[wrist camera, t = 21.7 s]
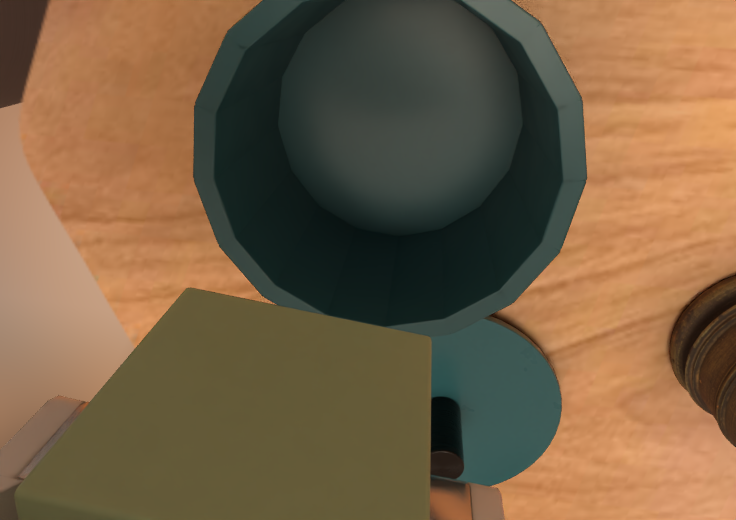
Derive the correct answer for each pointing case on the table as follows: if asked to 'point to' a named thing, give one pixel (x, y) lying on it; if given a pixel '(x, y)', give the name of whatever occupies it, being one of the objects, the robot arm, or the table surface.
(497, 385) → the lid
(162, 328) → the block
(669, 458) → the table surface
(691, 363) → the container
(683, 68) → the table surface
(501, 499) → the robot arm
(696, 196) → the table surface
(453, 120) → the pot
